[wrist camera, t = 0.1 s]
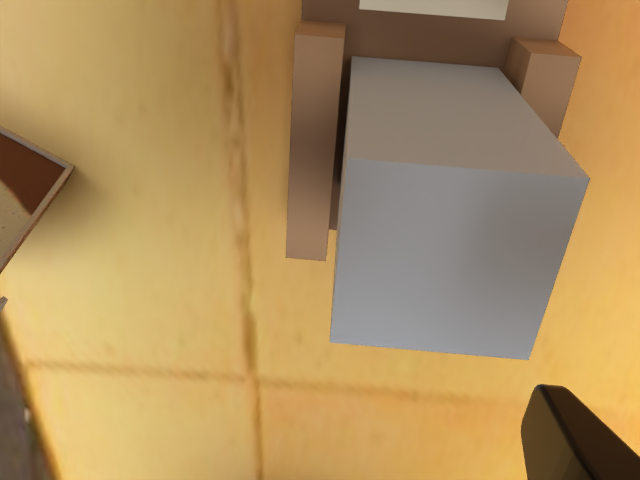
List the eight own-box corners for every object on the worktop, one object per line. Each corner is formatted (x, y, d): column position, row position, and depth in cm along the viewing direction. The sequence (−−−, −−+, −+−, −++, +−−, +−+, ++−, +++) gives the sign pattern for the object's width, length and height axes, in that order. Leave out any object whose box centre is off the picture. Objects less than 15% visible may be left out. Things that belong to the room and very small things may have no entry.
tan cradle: (498, 234, 24) (516, 277, 21) (294, 216, 24) (285, 257, 21) (618, -222, 16) (671, -247, 13) (315, -244, 16) (306, -273, 14)
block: (469, 198, 22) (528, 360, 14) (339, 187, 22) (329, 342, 14) (498, 67, 19) (589, 178, 12) (351, 56, 19) (347, 158, 12)
